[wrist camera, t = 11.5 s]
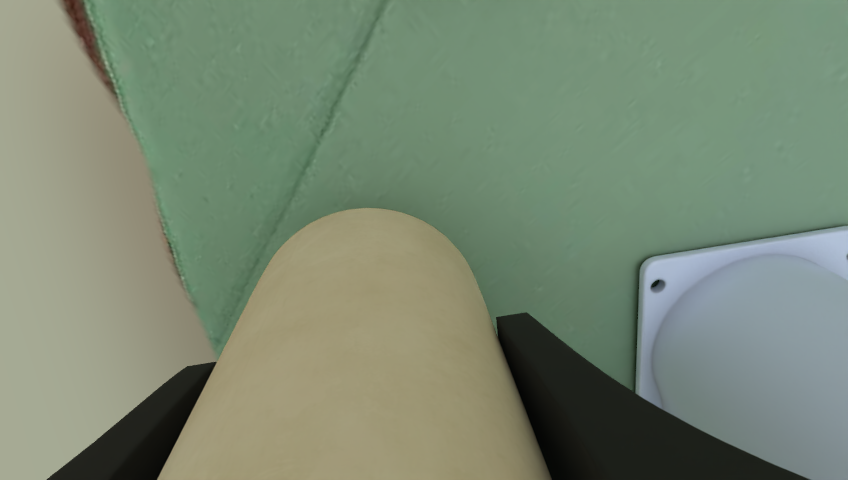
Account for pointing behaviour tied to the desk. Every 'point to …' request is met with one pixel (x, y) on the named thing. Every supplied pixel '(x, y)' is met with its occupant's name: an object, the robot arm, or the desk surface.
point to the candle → (361, 368)
